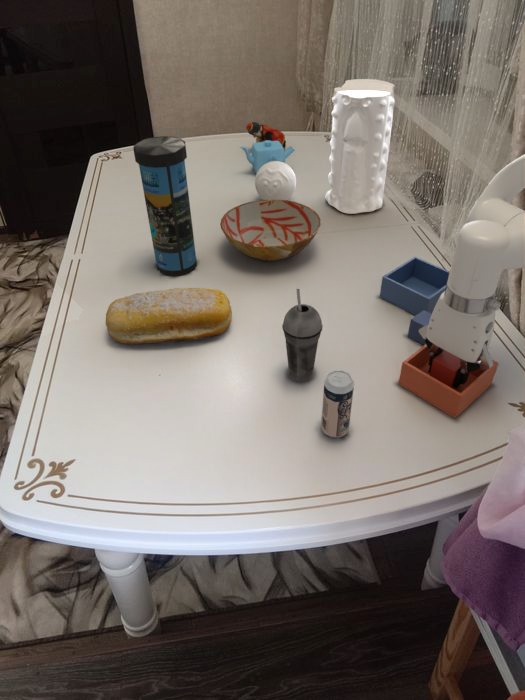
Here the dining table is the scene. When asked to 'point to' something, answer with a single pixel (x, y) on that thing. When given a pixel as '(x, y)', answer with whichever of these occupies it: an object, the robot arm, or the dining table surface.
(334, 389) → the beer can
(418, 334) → the blue block
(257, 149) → the teapot
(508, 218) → the robot arm
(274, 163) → the decorative ball
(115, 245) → the dining table surface
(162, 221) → the advertising column
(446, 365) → the red block
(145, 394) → the dining table surface
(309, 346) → the beverage cup
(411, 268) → the blue bin
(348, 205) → the vase
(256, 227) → the bowl
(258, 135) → the figurine
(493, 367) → the orange bin
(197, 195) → the dining table surface
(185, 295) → the bread
